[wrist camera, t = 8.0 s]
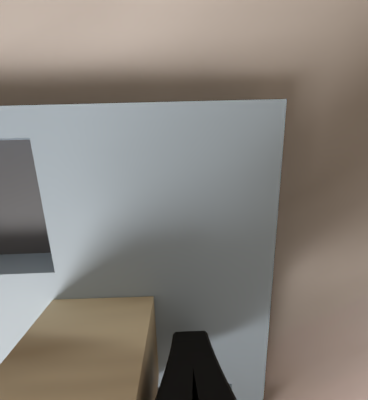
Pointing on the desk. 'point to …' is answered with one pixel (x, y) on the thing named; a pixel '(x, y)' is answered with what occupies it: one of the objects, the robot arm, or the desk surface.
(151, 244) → the board
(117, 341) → the block
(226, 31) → the desk surface
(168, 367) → the robot arm
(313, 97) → the desk surface
